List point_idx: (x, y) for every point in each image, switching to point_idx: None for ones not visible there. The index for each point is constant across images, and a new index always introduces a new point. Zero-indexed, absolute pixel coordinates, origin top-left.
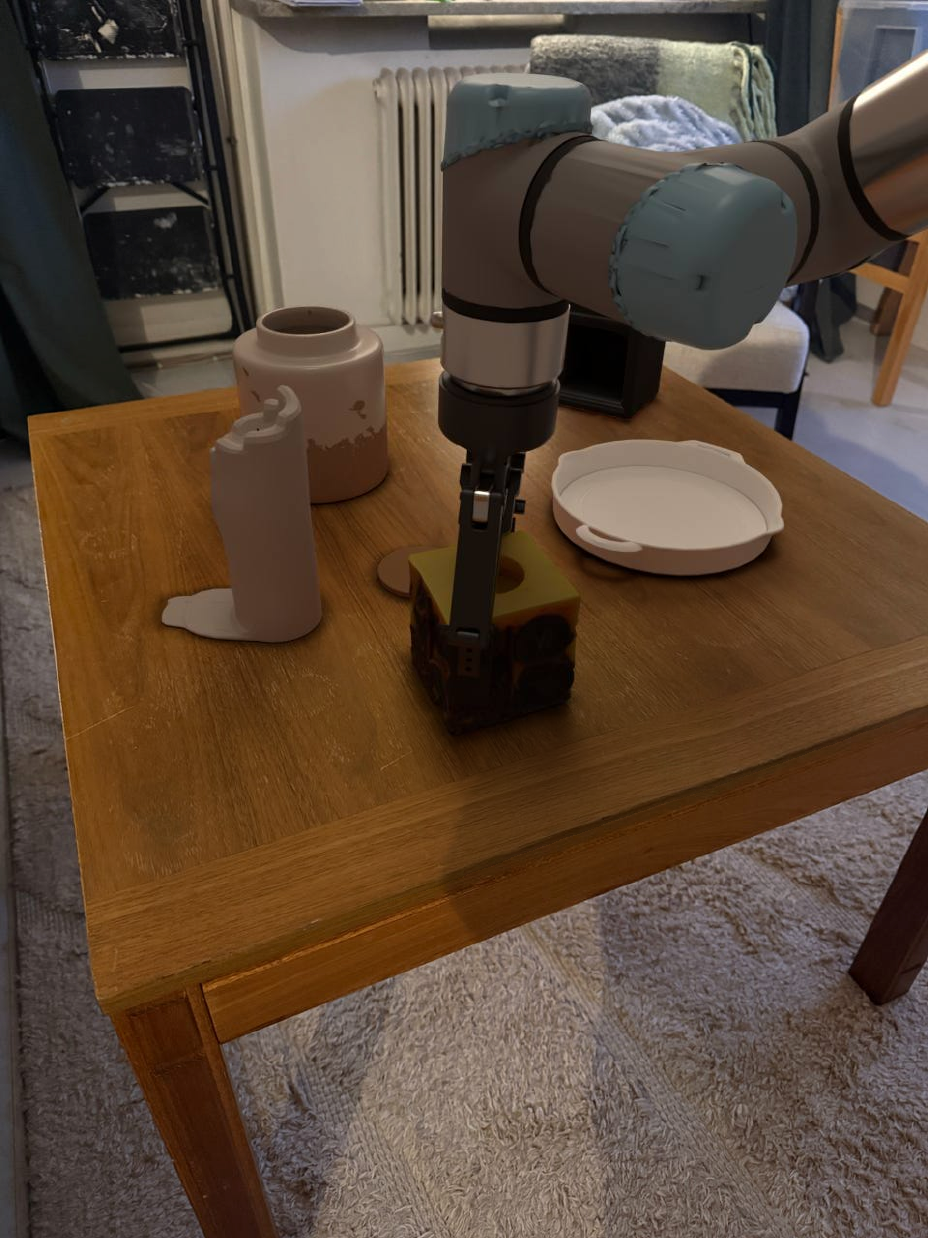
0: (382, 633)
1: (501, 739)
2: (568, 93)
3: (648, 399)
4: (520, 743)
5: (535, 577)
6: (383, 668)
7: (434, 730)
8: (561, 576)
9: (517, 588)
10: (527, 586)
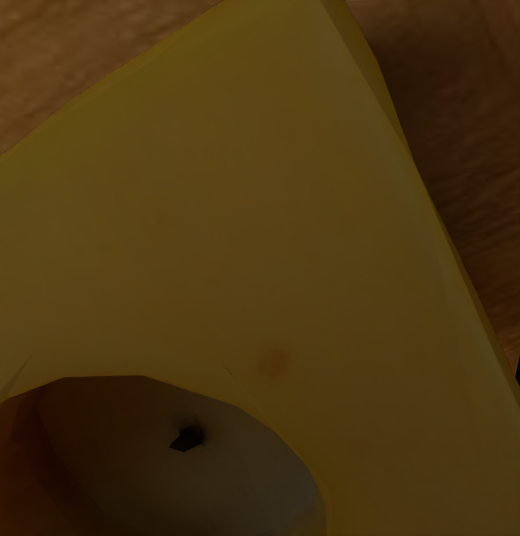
0: None
1: (473, 219)
2: None
3: None
4: (487, 170)
5: (123, 315)
6: None
7: None
8: (70, 134)
9: (263, 414)
10: (238, 362)
